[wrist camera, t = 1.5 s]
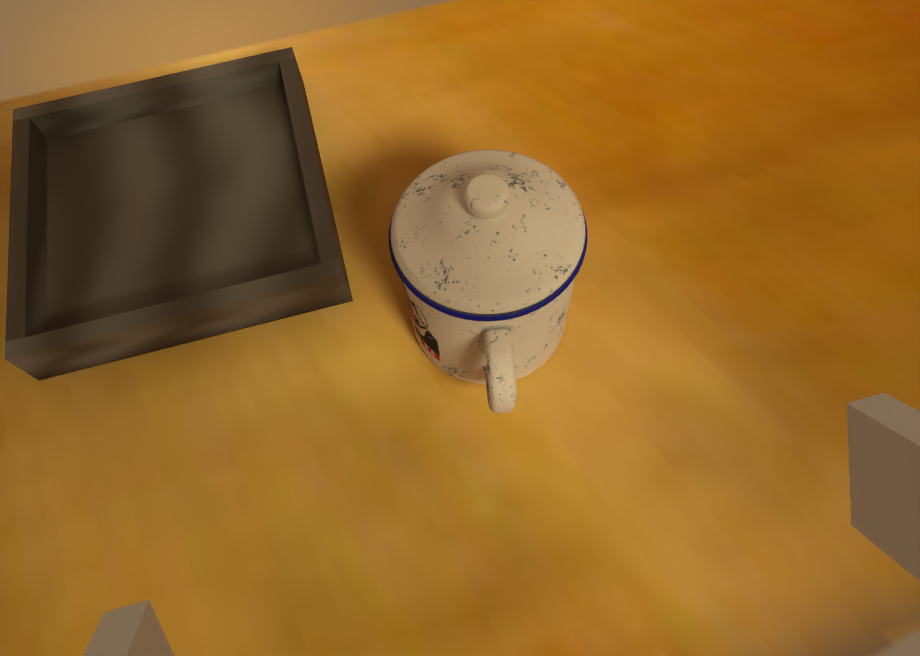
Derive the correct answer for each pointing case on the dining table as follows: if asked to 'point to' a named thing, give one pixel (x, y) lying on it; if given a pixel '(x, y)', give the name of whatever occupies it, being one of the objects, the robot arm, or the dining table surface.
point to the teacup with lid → (488, 265)
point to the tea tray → (166, 215)
